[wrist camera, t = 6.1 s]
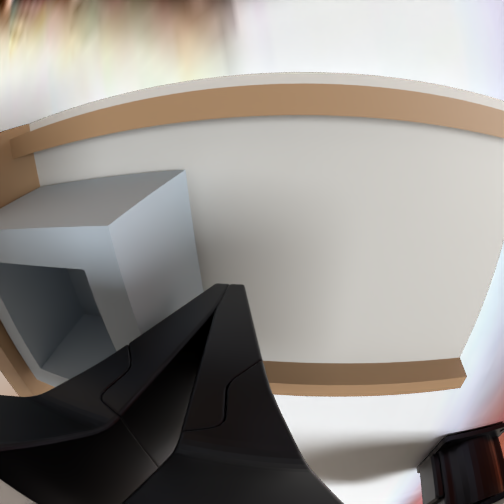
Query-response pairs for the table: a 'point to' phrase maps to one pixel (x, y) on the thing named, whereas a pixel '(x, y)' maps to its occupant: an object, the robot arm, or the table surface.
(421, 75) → the table surface
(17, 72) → the table surface
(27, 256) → the block
